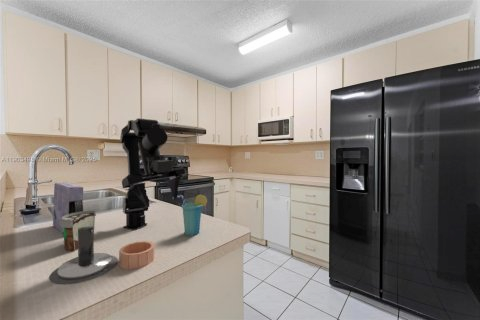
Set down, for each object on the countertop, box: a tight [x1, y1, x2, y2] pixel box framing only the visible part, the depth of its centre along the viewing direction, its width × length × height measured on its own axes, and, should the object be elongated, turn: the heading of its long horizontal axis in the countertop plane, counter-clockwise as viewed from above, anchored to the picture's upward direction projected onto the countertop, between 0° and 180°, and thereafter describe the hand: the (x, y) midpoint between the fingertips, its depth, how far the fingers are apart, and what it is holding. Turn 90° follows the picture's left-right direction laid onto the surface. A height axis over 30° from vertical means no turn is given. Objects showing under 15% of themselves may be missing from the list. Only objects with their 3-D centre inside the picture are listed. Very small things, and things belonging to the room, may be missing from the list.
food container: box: [59, 210, 97, 252], centre depth 68 cm, size 12×6×10 cm, turn 5°
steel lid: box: [57, 226, 112, 280], centre depth 54 cm, size 11×11×10 cm
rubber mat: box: [48, 254, 119, 285], centre depth 54 cm, size 14×14×1 cm
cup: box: [171, 194, 208, 236], centre depth 79 cm, size 14×8×15 cm, turn 136°
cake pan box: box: [52, 181, 84, 233], centre depth 82 cm, size 19×5×18 cm, turn 54°
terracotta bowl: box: [118, 240, 156, 270], centre depth 58 cm, size 8×8×4 cm
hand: (162, 203), depth 67 cm, fingers open, 9 cm apart
